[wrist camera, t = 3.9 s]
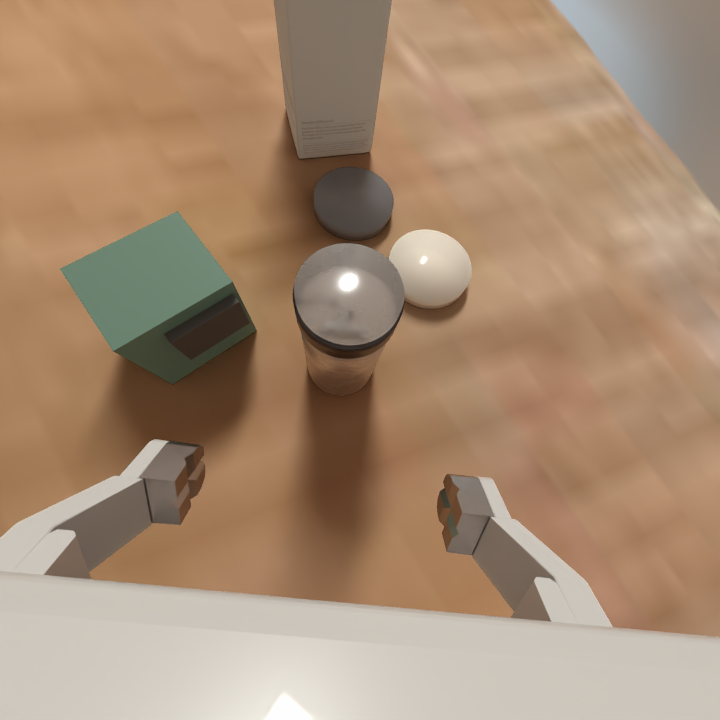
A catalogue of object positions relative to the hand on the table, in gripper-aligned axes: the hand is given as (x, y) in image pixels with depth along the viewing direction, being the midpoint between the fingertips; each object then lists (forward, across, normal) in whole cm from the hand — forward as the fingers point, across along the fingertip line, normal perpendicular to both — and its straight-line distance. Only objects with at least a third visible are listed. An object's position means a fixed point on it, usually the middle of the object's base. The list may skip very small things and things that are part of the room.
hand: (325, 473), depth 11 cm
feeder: (+15, +11, +2) cm, 19 cm away
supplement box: (+32, +4, -14) cm, 35 cm away
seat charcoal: (+25, +1, -7) cm, 26 cm away
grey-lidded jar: (+14, 0, +3) cm, 15 cm away
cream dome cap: (+21, -6, -3) cm, 22 cm away
